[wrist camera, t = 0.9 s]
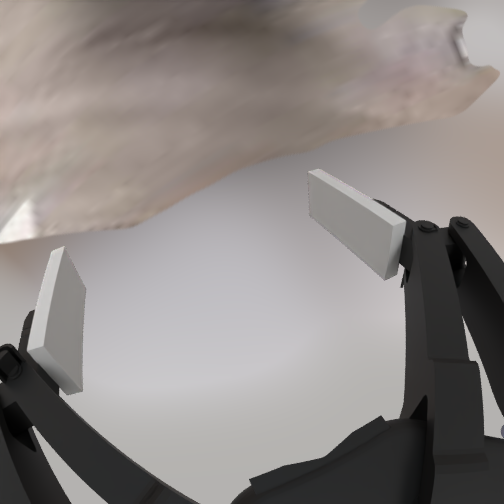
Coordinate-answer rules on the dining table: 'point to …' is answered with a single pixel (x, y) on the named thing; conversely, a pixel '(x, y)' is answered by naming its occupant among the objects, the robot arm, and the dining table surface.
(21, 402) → the robot arm
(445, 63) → the dining table surface
